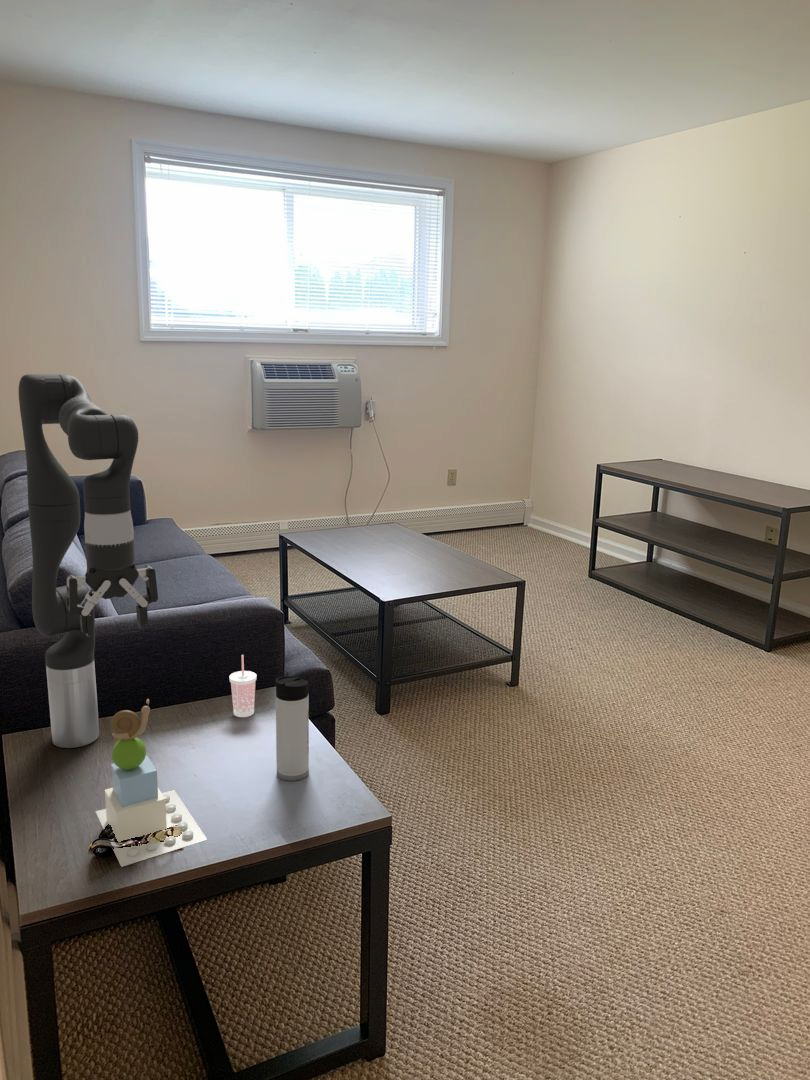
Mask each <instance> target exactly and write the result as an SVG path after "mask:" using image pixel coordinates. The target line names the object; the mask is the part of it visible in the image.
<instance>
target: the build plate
mask: <svg viewBox="0 0 810 1080" xmlns="http://www.w3.org/2000/svg"><path fill="white" fill-rule="evenodd" d="M161 793H162V794H163V796H164V797H165V803H166V823H167V828H169V827H171V826H173V825H174V826H175V825H177V828H178V829H181V830H183V832H182V834H181V835H180V836H178V837H174V836H169V837H166V838H165V840H164V842H158V843H157V842H149V843H147V844H142V845H140V846H139V844H138V846H131V847H123V848H114V849H113V848H112V850H113V852H114V854H115V856H116V858H117V861H118V862H119V865H120V867H121V868H122V867H126V866H129V865H132V864H135V863H138V862H141V861H145V860H148V859H151V858H154V857H157V856H160V855H163V854H167V853H170V852H173V851H176V850H180V849H182V848H185V847H188V846H193V845H196V844H198V843H202V842H206V841H207V840H208V838H207V836H206V835H205V833H204V832H203V831H202V829H201V828H200V826H199V825H198V823H197V822H196V820H195V819H194V817H193V816H192V814H191V813H190V811H189V810H188V808H187V807H186V805H185V803H184V802H183V800H182V799H181V798H180V796H179V795H178V793H177V792H176V790H175V789H173V790H168V791H165V792H161ZM94 812H95V814H96V816H97V818H98V821H99V823H100V824H101V826H102V829H103V830H104V829H105V827H106V826H107V825H108V823H107V818H106V808H102V809H100V810H99V809H98V810H95V811H94Z"/></svg>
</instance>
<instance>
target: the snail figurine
mask: <svg viewBox="0 0 810 1080" xmlns="http://www.w3.org/2000/svg"><path fill="white" fill-rule="evenodd" d="M145 703H146V704H147V705H143V706H142V708H141V709H140V712H141V716H140V717H141V718H140V717H139V716H138V714H137V713H135V711H132V710H128V709H125V710H120V711H118V712H116V713H115V714H114V715H113V717H112V718H111V721H110V722H111V723H110V726H111V728H112V730H113V731H114V732H113V733H111V736H112V737H113V738H115V739H117V741H116V742H115V744H114V745H113V748H112V750H111V758H112V761H113V763H115V765H116V766H118V767H119V768H121V769H124V770H131V769H134V768H136V767H138V766H139V765H140V764H141V763H142V762H143V761H144V759H145V756H146V755H147V747H146V745H145V743H144V742H143V740H142V739H140V738H139V736H140V735H142V734H143V733H144V731H145V730H146V728H147V725H148V720H149V715H150V712H151V708H150V707H149V704H150V699H149V698H147V699H146V701H145Z"/></svg>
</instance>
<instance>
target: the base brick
mask: <svg viewBox="0 0 810 1080" xmlns="http://www.w3.org/2000/svg"><path fill="white" fill-rule="evenodd" d="M162 793H163V792H162V791H161V790H160V788H159V787H158V798H154V799H151V800H147V801H143V802H140V803H136V804H132V805H129V806H125V807H121V805H120V803H119V802H118V800H117V798H116V796H115V794H114V792H113V787H110V788H106V789H104V799H105V800H104V802H105V803H104V804H105V809H106V818H107V823H108V824H109V825H111V827H112V830H113V833H114V834H115V837H116V839H117V841H118V842H121V841H123V840H127V839H131V838H135V837H140V836H143V835H147V834H150V833H153V832H156V831H159V830H165V829H167V823H166V803H165V797H164V796H163V794H162Z"/></svg>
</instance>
